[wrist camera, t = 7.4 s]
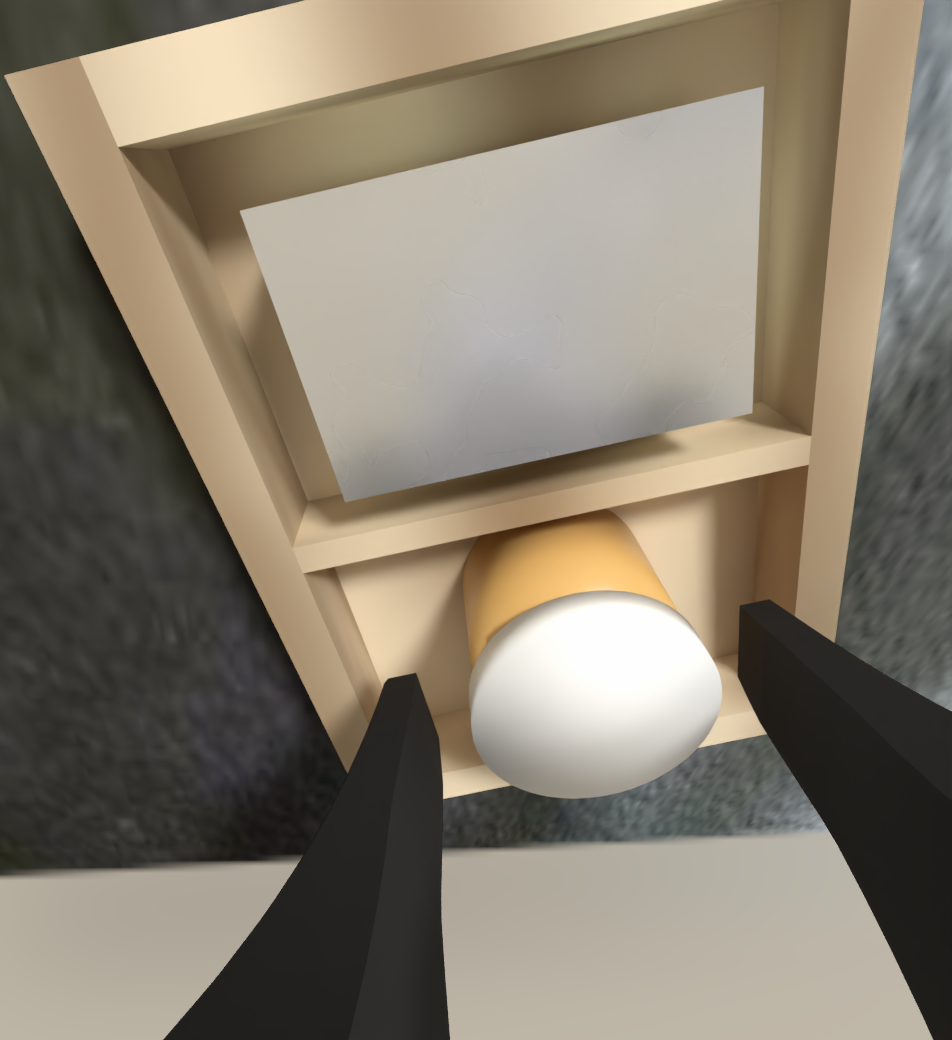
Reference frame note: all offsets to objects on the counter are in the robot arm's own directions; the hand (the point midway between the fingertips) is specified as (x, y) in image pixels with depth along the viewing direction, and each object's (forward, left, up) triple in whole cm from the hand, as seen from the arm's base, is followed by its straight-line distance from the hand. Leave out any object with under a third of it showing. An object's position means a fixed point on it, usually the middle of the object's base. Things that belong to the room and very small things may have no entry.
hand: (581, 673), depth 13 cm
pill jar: (0, 0, -3) cm, 3 cm away
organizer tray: (0, -4, -3) cm, 5 cm away
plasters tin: (0, -7, -3) cm, 8 cm away
